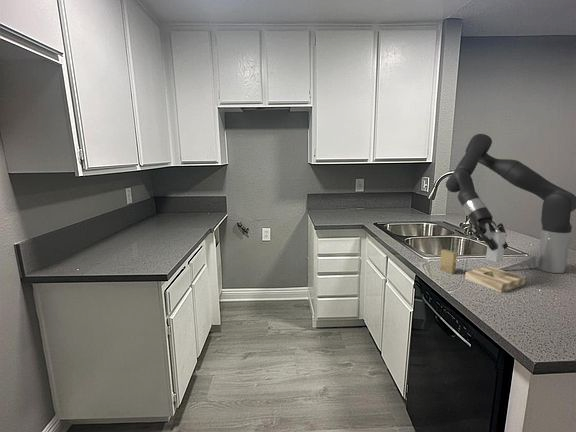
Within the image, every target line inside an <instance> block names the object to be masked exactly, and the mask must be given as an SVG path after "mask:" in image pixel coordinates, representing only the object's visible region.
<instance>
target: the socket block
mask: <svg viewBox="0 0 576 432" xmlns="http://www.w3.org/2000/svg"><path fill="white" fill-rule="evenodd" d="M496 268H497V267H496ZM496 268H495V267H492V266H489V265H487V266H485V267H480V268H476V269H472V270H469V271H465V277H464V278H465V280H466V281H469V282H471V283H475V284H477V285H480V286H483V287H484V288H488V289H490V290H494V291H496V292H499V293H504V292H507V291H510V290H512V289H516V288H520V287H522V286H525V281H526V277H524V276H522V275H518V274H515V273H512V272H509V271H507V270H504V271H503V270H499V269H496Z"/></svg>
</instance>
